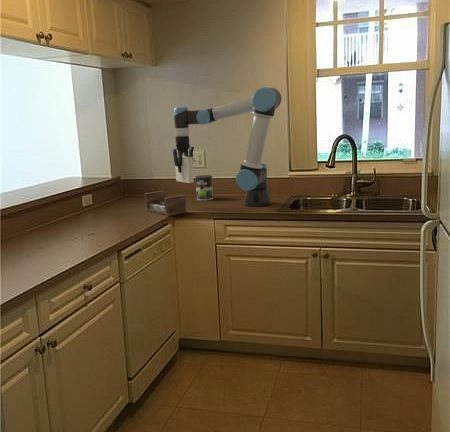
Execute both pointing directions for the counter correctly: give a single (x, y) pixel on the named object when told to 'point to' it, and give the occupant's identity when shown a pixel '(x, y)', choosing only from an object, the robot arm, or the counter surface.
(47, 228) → the counter surface
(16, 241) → the counter surface
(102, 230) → the counter surface
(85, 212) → the counter surface
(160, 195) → the door track
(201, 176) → the coffee can
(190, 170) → the door panel
